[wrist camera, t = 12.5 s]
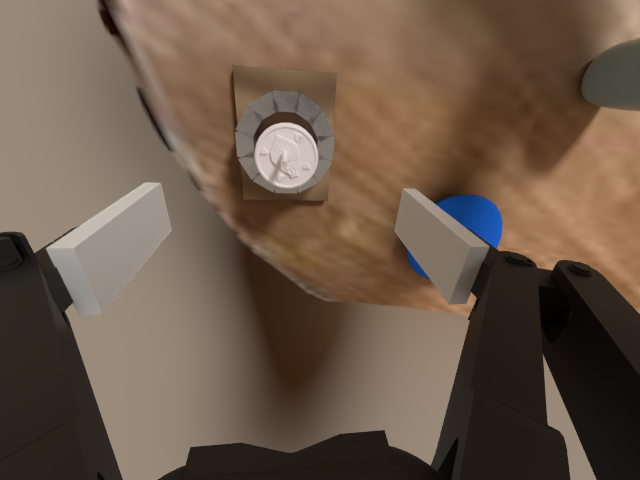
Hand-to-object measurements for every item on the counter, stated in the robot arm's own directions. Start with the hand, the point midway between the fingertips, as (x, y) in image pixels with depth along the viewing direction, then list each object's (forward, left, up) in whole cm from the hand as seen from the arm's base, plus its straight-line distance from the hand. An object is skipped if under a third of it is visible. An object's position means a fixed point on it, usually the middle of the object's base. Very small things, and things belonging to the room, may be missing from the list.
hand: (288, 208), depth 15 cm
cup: (-10, +42, -24) cm, 50 cm away
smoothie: (0, 0, -23) cm, 23 cm away
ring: (0, 0, -23) cm, 23 cm away
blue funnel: (+14, +27, -25) cm, 39 cm away
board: (0, 0, -24) cm, 24 cm away
